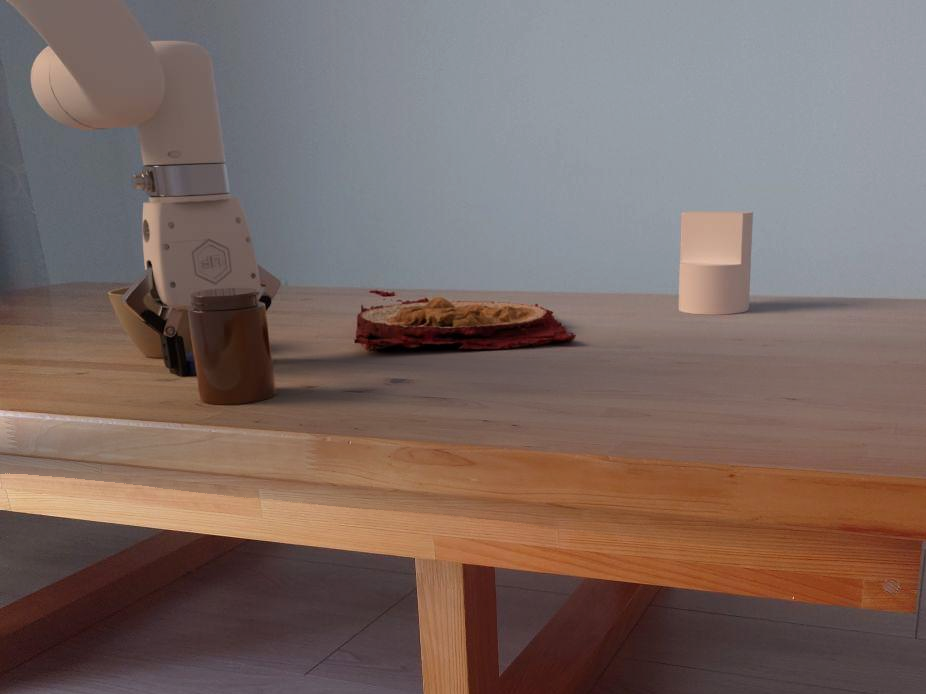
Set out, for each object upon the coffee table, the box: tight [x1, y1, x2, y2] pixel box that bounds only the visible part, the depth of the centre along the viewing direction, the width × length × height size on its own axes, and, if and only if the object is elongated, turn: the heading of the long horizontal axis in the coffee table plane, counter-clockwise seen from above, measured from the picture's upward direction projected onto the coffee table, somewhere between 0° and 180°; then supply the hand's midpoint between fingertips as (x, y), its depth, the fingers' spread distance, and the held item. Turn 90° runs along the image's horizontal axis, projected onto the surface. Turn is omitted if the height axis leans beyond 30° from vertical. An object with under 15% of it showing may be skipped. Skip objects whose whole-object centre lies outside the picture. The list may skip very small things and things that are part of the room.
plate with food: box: [353, 289, 577, 351], centre depth 119 cm, size 24×26×3 cm
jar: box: [187, 288, 277, 406], centre depth 89 cm, size 7×7×9 cm
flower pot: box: [107, 285, 193, 359], centre depth 110 cm, size 10×10×7 cm
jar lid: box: [185, 351, 197, 376], centre depth 103 cm, size 7×7×1 cm
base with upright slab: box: [678, 210, 754, 316], centre depth 129 cm, size 9×9×12 cm
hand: (215, 367), depth 103 cm, fingers open, 7 cm apart
